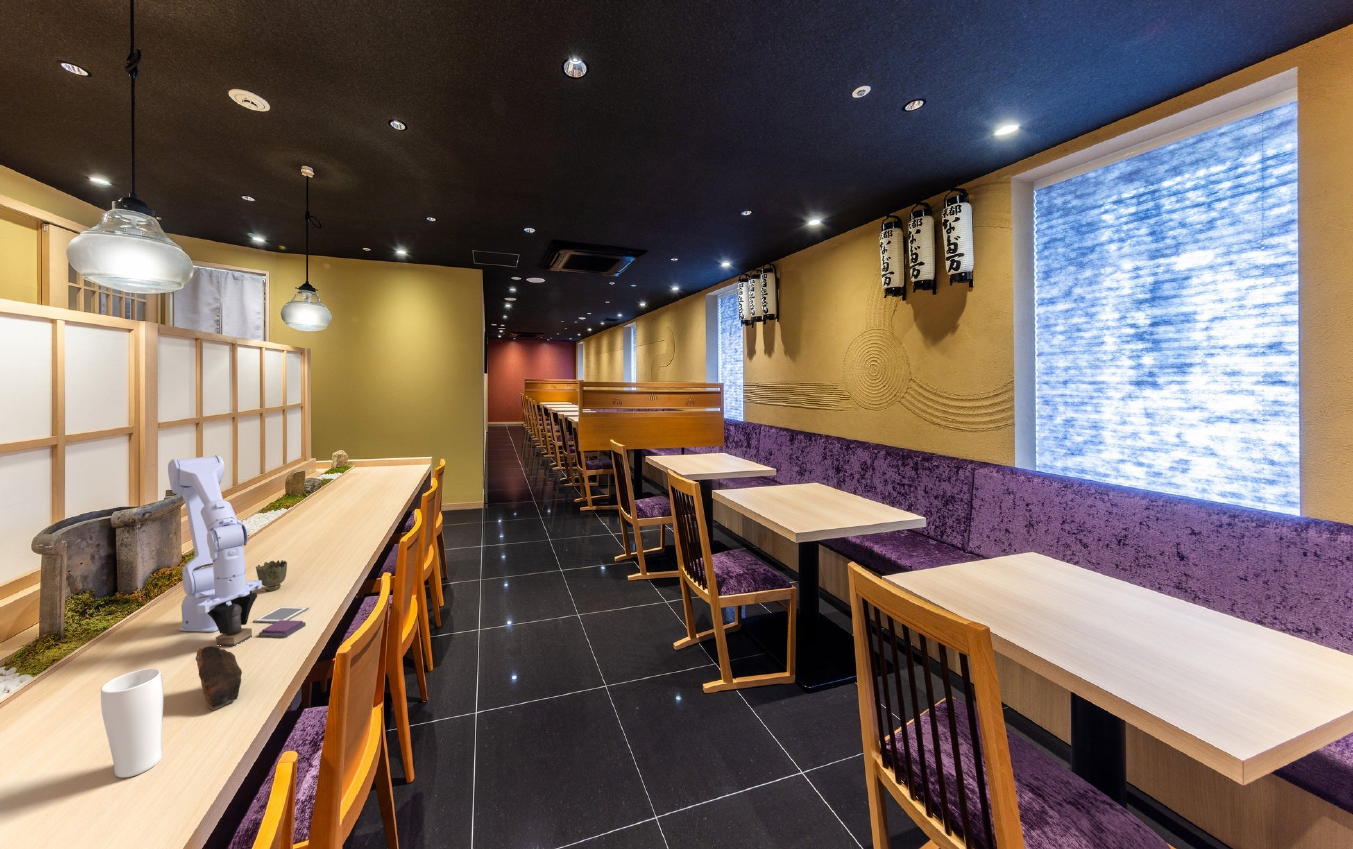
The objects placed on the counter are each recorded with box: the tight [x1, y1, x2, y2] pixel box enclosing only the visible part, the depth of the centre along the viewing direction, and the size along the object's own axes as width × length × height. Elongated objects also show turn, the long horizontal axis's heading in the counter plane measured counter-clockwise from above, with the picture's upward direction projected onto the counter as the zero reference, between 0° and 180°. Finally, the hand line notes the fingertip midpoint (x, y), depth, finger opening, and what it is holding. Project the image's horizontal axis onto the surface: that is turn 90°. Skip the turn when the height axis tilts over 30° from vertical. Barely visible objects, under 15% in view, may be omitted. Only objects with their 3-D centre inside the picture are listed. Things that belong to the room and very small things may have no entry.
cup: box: [255, 560, 288, 592], centre depth 151 cm, size 8×7×8 cm
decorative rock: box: [195, 645, 243, 711], centre depth 99 cm, size 12×6×11 cm, turn 50°
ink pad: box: [258, 620, 307, 639], centre depth 126 cm, size 7×6×2 cm
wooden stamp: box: [215, 604, 253, 647], centre depth 120 cm, size 5×5×9 cm
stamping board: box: [252, 606, 310, 624], centre depth 134 cm, size 8×8×1 cm
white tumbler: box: [100, 668, 165, 779], centre depth 80 cm, size 7×7×15 cm
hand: (233, 628), depth 120 cm, fingers open, 4 cm apart
